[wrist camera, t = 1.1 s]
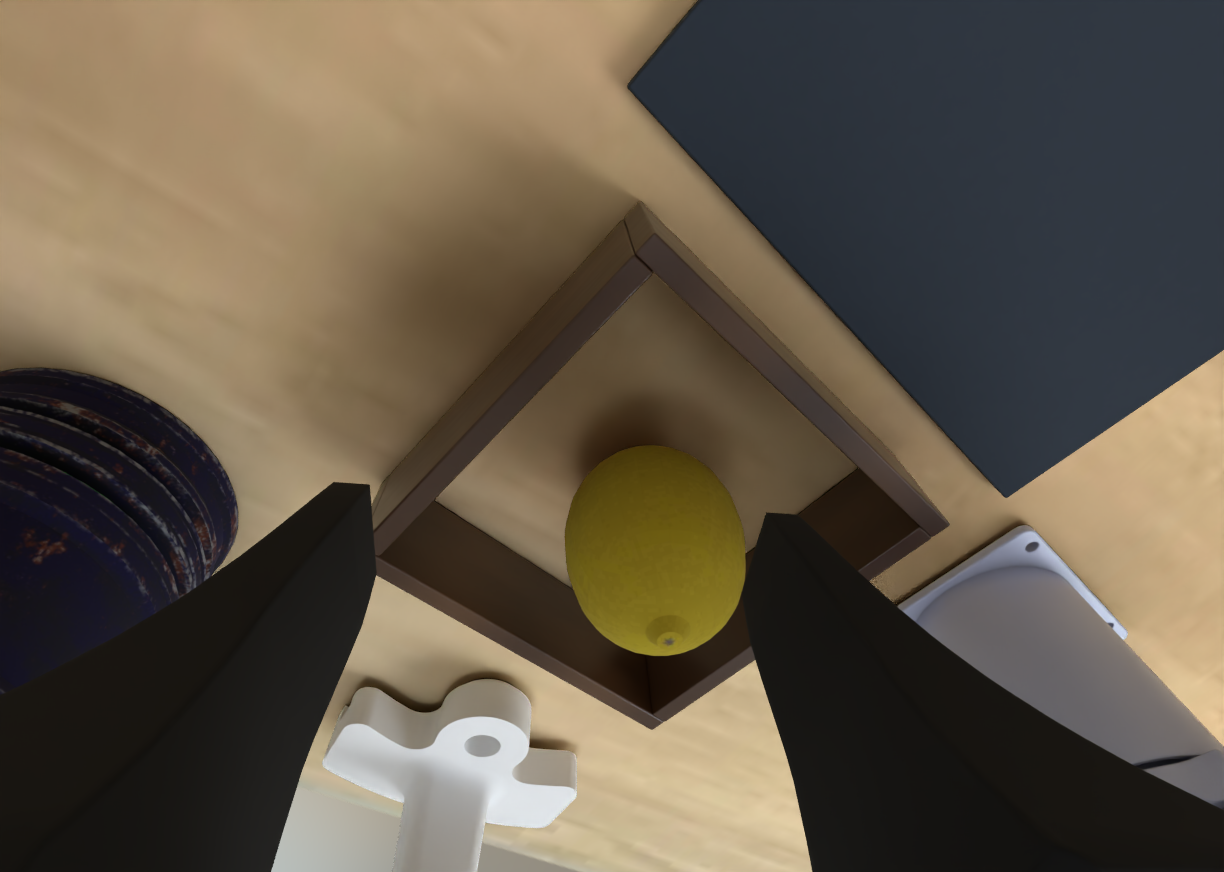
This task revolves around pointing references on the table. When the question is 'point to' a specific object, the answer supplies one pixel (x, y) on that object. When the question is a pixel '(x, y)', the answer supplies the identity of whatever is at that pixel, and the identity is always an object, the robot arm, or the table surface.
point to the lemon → (655, 550)
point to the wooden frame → (549, 610)
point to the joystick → (452, 769)
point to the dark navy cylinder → (97, 516)
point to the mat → (978, 192)
